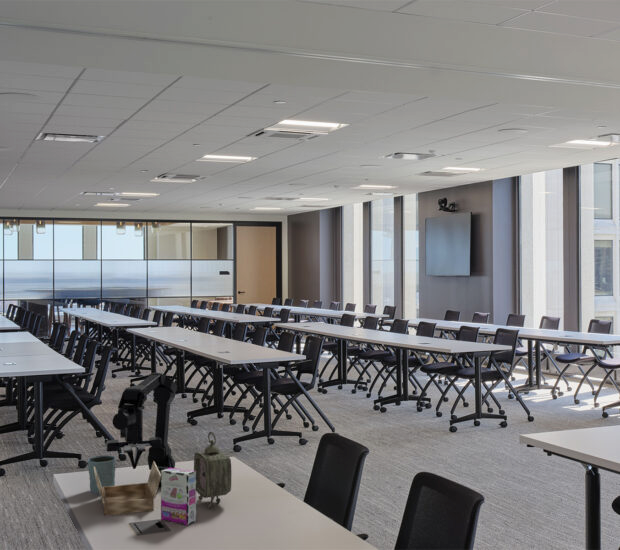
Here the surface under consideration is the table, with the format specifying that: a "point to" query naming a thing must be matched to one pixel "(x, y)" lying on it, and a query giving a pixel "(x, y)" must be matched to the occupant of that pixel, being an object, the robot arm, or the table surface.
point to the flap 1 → (99, 484)
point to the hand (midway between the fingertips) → (134, 468)
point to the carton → (127, 499)
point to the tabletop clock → (212, 472)
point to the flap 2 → (154, 479)
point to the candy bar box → (178, 496)
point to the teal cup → (101, 471)
